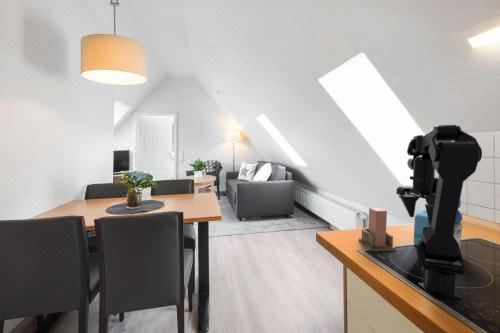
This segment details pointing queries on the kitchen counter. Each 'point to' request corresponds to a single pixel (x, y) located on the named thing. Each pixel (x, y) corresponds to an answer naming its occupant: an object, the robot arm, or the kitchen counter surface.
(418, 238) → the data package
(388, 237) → the book rack
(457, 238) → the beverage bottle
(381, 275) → the kitchen counter surface
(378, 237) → the pink tall block
